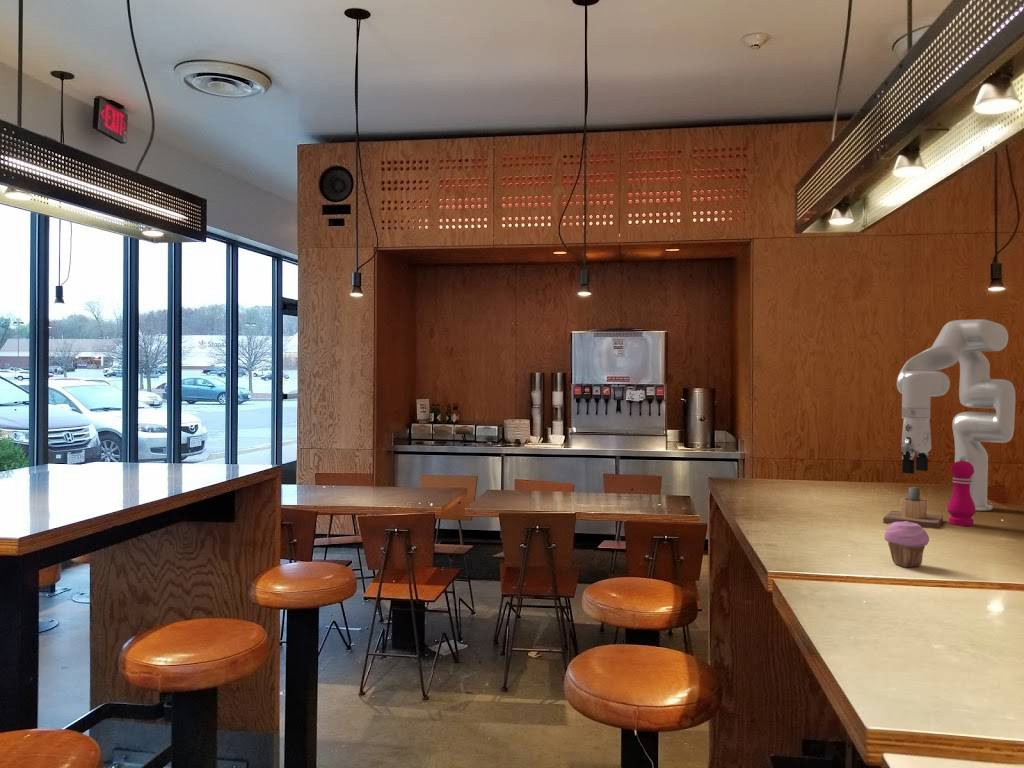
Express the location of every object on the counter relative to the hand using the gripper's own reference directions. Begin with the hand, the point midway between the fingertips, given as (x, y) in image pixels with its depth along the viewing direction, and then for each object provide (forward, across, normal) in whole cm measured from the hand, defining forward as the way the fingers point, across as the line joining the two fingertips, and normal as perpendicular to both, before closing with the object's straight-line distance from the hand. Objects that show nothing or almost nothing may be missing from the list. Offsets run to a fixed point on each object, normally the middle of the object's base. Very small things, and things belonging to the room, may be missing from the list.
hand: (915, 471), depth 240 cm
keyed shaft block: (+15, -1, 0) cm, 15 cm away
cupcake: (+14, -61, -22) cm, 66 cm away
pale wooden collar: (+13, 0, 0) cm, 13 cm away
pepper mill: (+15, +7, -10) cm, 19 cm away
